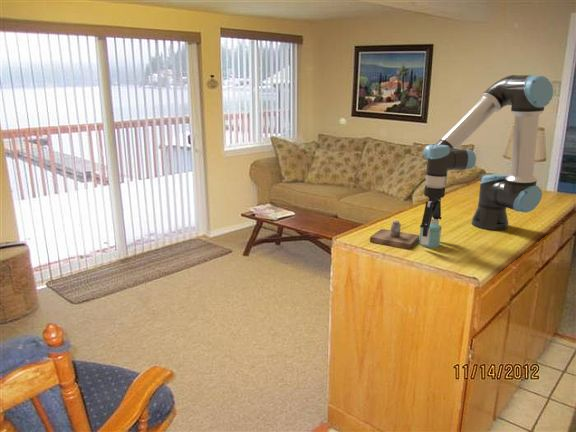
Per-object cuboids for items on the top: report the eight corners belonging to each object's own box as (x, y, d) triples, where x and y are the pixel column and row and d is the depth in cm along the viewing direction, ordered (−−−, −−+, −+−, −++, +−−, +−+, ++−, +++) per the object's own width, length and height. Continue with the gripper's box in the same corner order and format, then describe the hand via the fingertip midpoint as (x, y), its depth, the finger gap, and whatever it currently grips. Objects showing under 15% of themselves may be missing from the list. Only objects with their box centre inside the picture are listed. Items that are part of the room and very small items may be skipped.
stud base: (419, 239, 195) (420, 220, 193) (409, 249, 184) (411, 229, 182) (381, 233, 203) (382, 214, 201) (369, 241, 192) (371, 222, 190)
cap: (441, 243, 191) (443, 225, 189) (436, 249, 185) (438, 230, 182) (422, 240, 195) (423, 222, 193) (416, 245, 188) (418, 227, 186)
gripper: (433, 179, 195) (428, 229, 201) (415, 190, 175) (410, 246, 180) (452, 182, 192) (446, 233, 198) (436, 193, 171) (430, 250, 177)
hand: (429, 239), depth 189 cm, fingers open, 13 cm apart
